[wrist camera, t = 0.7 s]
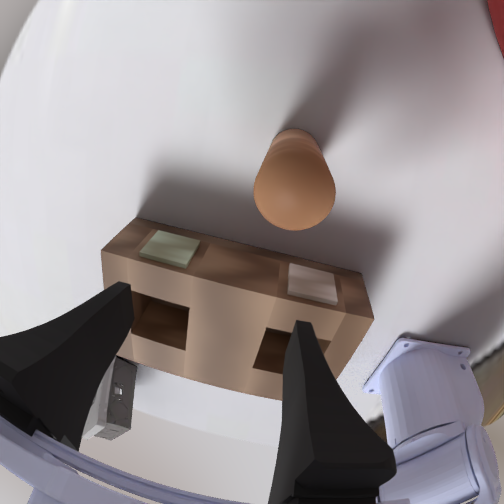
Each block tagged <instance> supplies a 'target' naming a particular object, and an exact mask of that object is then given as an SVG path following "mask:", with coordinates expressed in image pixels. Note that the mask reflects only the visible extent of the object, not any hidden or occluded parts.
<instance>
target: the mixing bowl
mask: <svg viewBox="0 0 504 504" xmlns="http://www.w3.org/2000/svg"><path fill="white" fill-rule="evenodd" d="M487 1H488V7H489V12H490V15H491V19H492V23H493V26H494V30H495V34H496V37H497V40H498V43H499V46H500V49H501V51H502V54H503V58H504V0H487Z"/></svg>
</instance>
